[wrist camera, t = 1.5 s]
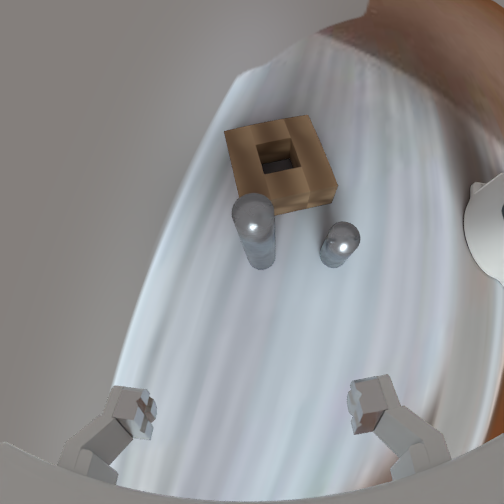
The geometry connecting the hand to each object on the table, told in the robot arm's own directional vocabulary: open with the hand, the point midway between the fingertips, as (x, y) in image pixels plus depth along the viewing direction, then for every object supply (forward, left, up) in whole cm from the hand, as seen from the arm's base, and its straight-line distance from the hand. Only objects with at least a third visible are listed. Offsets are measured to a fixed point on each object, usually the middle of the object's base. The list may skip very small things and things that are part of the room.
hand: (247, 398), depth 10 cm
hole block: (-7, -23, -25) cm, 35 cm away
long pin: (-2, -12, -25) cm, 28 cm away
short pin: (-11, -10, -25) cm, 29 cm away
